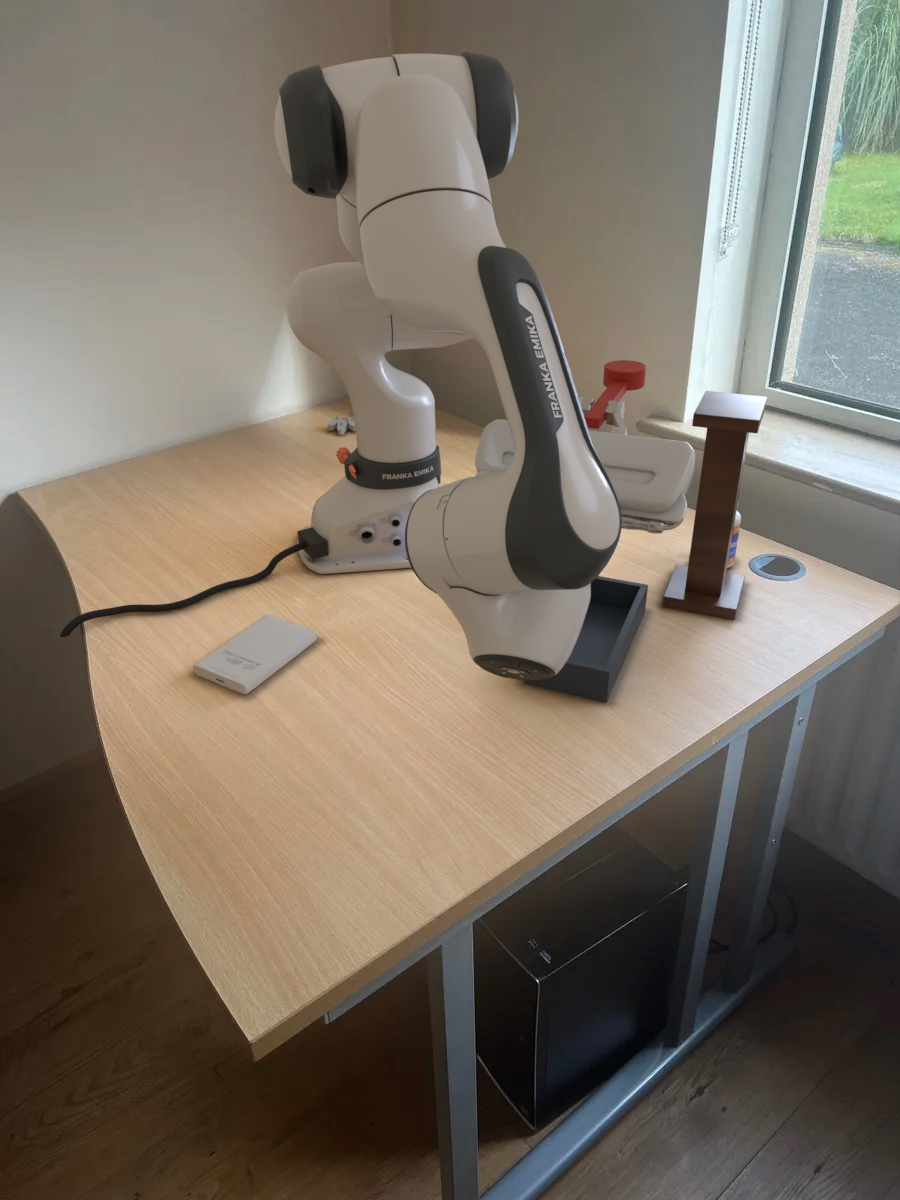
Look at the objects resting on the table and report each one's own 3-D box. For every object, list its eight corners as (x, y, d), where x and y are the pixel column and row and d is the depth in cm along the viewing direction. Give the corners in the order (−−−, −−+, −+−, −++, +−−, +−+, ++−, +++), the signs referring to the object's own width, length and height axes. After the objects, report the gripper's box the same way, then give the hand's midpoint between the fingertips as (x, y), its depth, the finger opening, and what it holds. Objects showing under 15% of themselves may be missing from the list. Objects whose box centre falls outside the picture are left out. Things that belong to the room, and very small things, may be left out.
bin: (606, 702, 94) (609, 672, 92) (523, 683, 97) (523, 653, 95) (644, 612, 109) (648, 584, 107) (571, 598, 112) (573, 571, 110)
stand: (733, 623, 106) (769, 421, 93) (660, 610, 109) (684, 412, 96) (743, 585, 114) (777, 393, 101) (674, 573, 117) (699, 385, 104)
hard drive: (317, 642, 105) (246, 696, 96) (267, 624, 109) (194, 674, 100) (316, 631, 104) (244, 684, 95) (265, 613, 108) (192, 663, 99)
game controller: (329, 436, 165) (328, 423, 163) (324, 417, 175) (323, 404, 173) (359, 433, 166) (358, 420, 164) (352, 414, 175) (351, 402, 174)
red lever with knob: (613, 431, 81) (615, 410, 80) (567, 425, 82) (568, 405, 81) (648, 380, 93) (650, 361, 92) (608, 376, 95) (609, 358, 94)
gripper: (679, 515, 72) (712, 391, 78) (454, 481, 79) (499, 370, 85) (679, 555, 78) (709, 437, 83) (468, 520, 85) (509, 413, 90)
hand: (602, 403), depth 84 cm, fingers closed on red lever with knob, 2 cm apart
